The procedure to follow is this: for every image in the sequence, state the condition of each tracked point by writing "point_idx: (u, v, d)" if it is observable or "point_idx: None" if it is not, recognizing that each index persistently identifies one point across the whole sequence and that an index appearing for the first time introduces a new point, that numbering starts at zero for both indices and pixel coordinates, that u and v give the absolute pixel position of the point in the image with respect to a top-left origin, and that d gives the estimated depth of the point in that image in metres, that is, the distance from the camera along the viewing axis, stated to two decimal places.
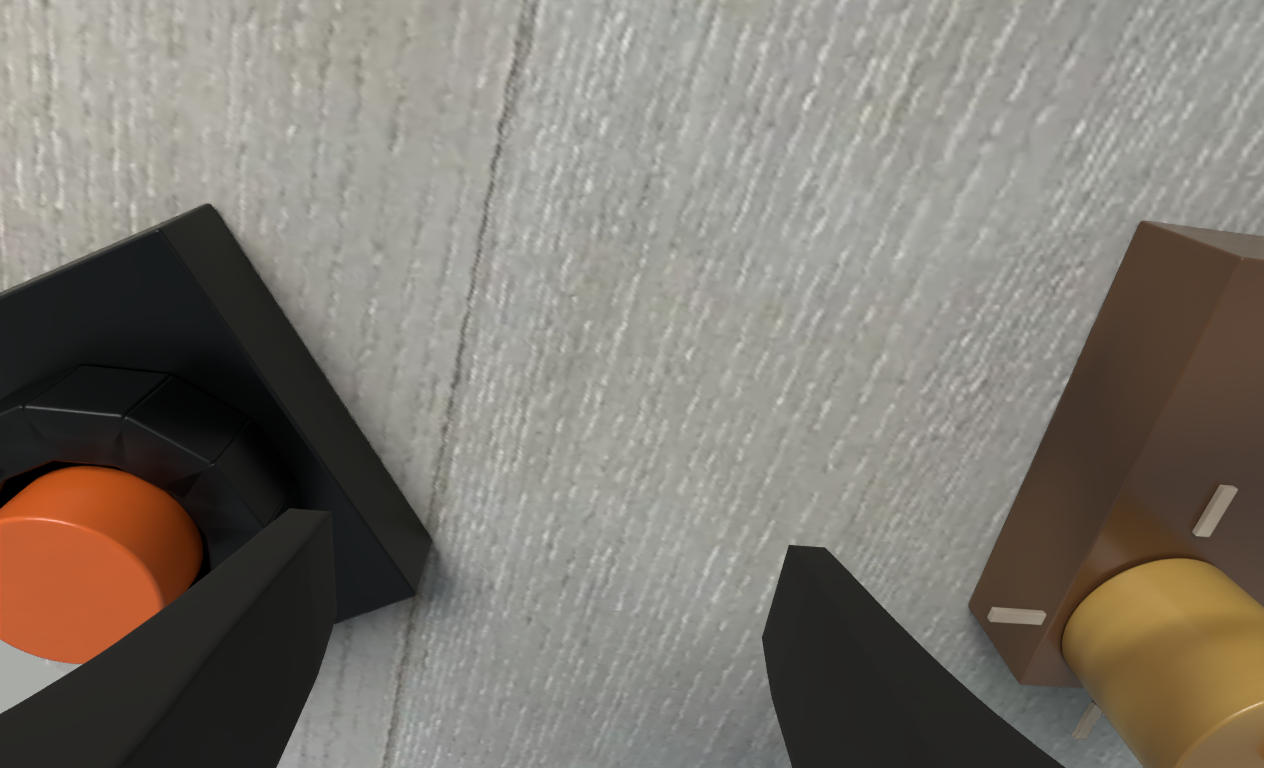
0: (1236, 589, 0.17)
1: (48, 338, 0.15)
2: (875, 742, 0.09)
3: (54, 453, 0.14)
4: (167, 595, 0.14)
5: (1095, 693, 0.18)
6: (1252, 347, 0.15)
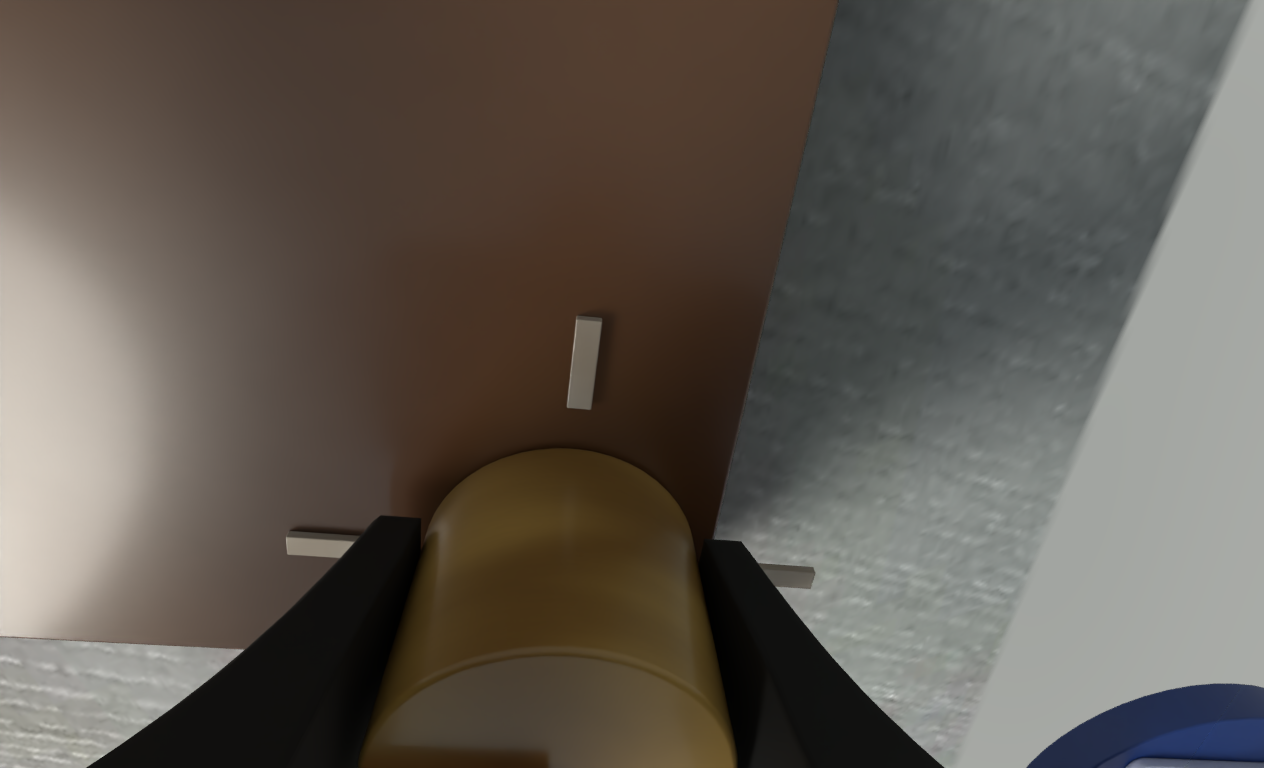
0: None
1: None
2: (762, 738, 0.08)
3: None
4: None
5: None
6: (76, 586, 0.12)
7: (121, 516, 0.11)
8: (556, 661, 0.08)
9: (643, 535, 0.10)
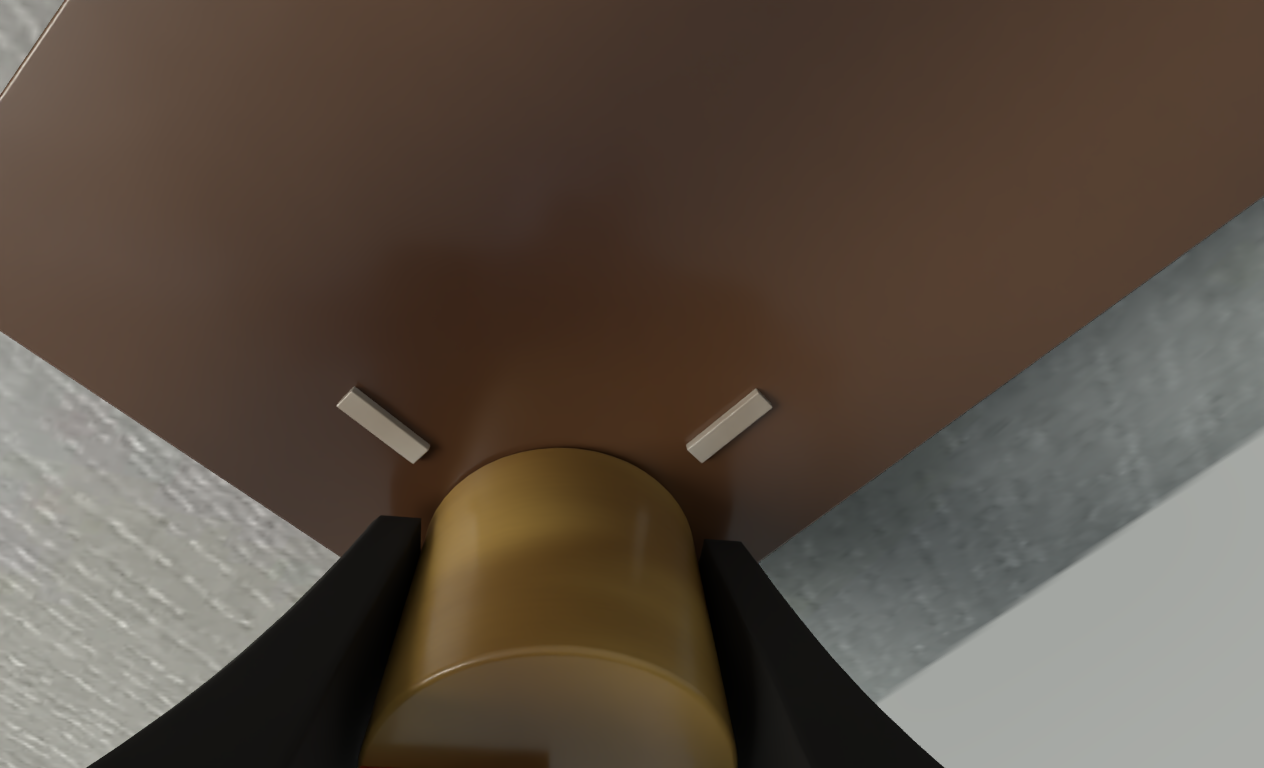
0: (416, 567, 0.11)
1: None
2: (761, 738, 0.08)
3: None
4: None
5: None
6: (74, 290, 0.10)
7: (202, 263, 0.10)
8: (558, 660, 0.08)
9: (644, 536, 0.10)
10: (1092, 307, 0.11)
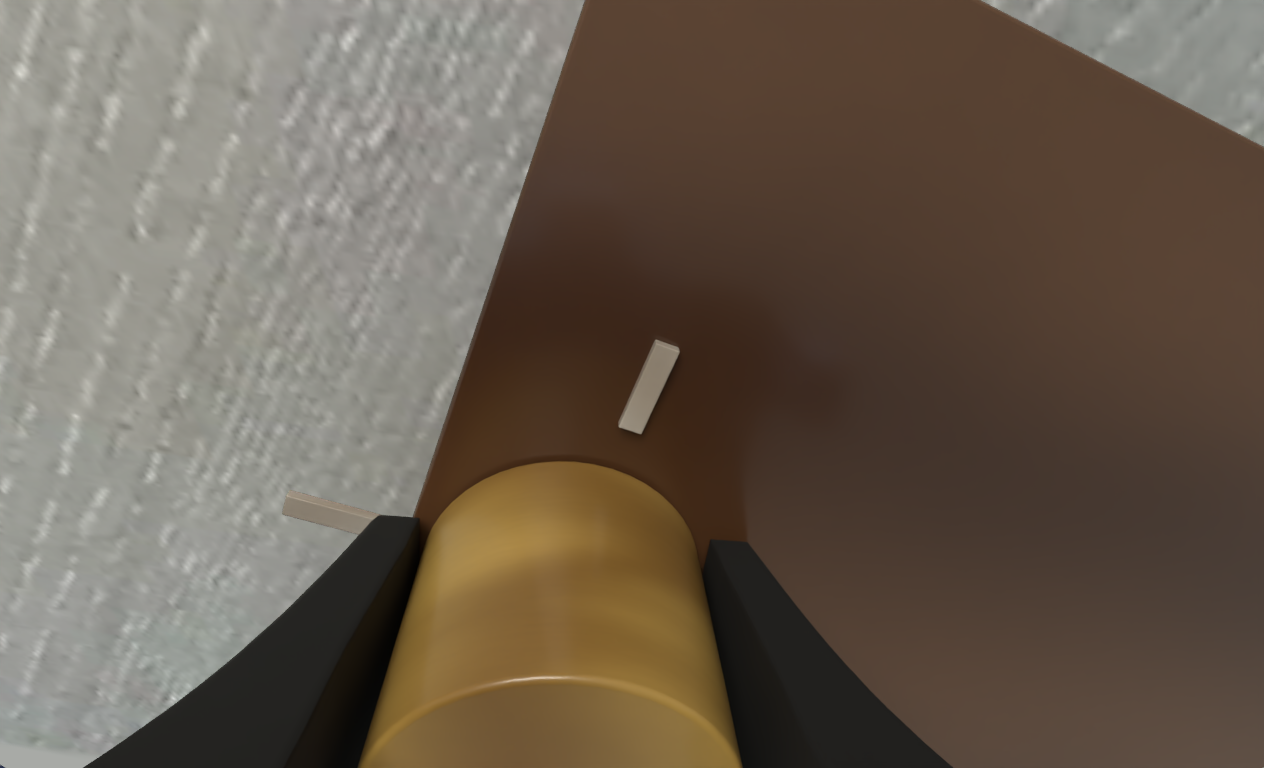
0: (412, 586, 0.10)
1: None
2: (771, 738, 0.08)
3: None
4: None
5: None
6: (683, 54, 0.08)
7: (761, 178, 0.09)
8: (556, 689, 0.07)
9: (646, 553, 0.09)
10: None
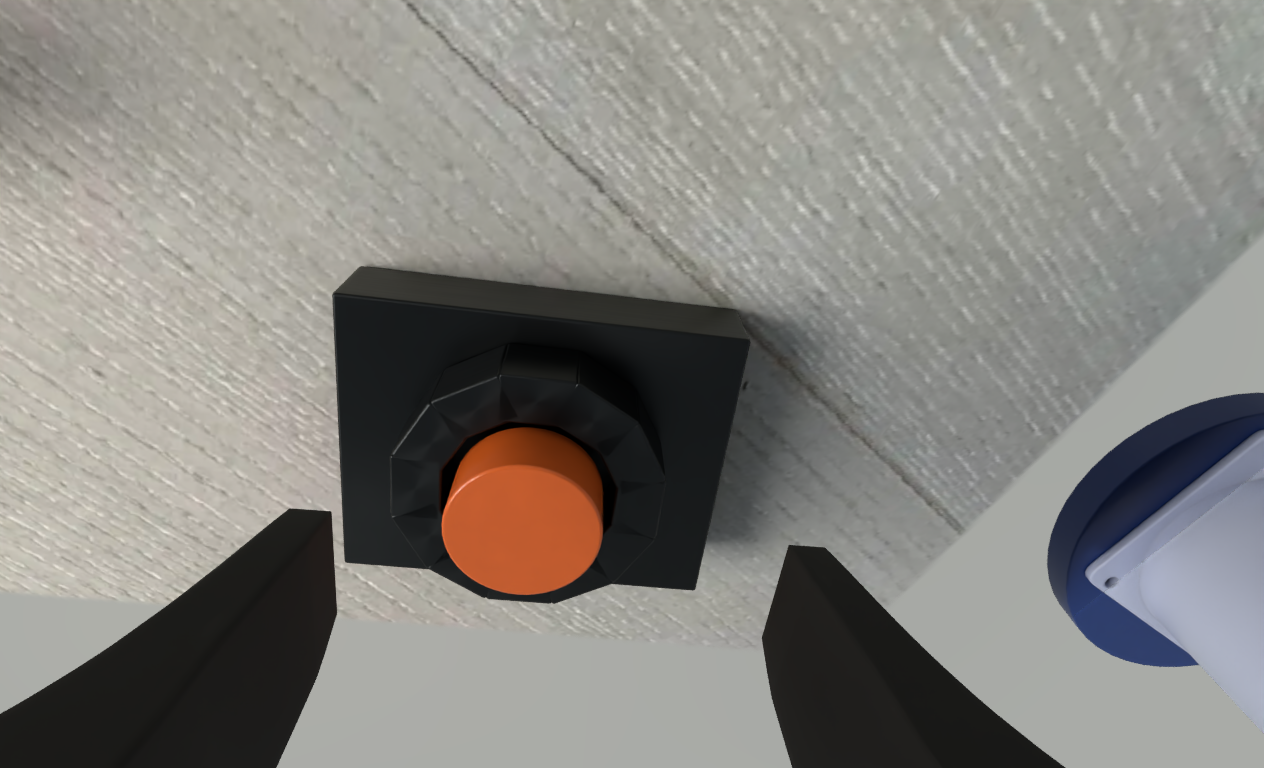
0: None
1: (379, 422, 0.18)
2: (874, 742, 0.09)
3: (434, 465, 0.17)
4: (569, 473, 0.16)
5: None
6: None
7: None
8: None
9: None
10: None
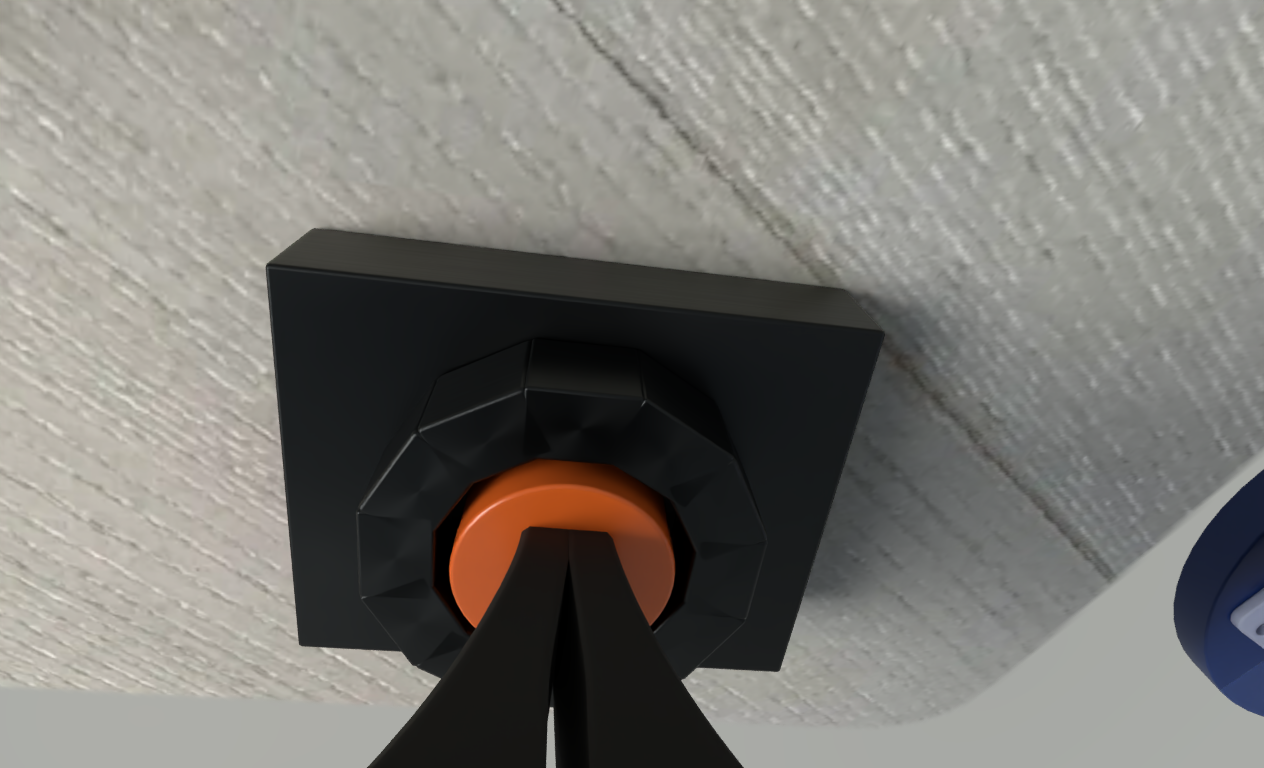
0: None
1: (343, 455, 0.13)
2: (579, 729, 0.08)
3: (424, 523, 0.11)
4: (630, 495, 0.11)
5: None
6: None
7: None
8: None
9: None
10: None
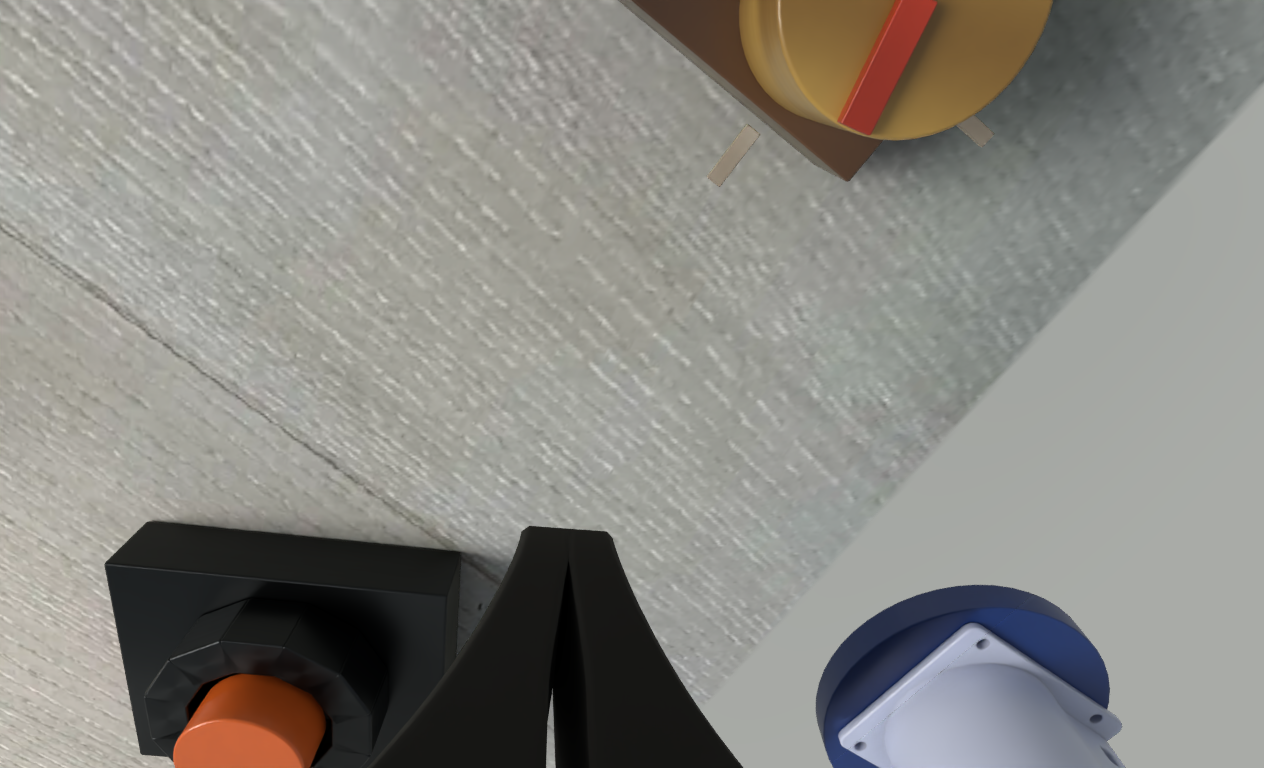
0: (786, 105, 0.15)
1: (154, 653, 0.23)
2: (578, 729, 0.08)
3: (179, 703, 0.21)
4: (270, 723, 0.20)
5: None
6: None
7: None
8: None
9: None
10: None
